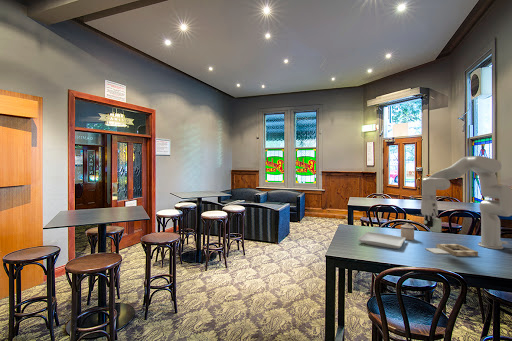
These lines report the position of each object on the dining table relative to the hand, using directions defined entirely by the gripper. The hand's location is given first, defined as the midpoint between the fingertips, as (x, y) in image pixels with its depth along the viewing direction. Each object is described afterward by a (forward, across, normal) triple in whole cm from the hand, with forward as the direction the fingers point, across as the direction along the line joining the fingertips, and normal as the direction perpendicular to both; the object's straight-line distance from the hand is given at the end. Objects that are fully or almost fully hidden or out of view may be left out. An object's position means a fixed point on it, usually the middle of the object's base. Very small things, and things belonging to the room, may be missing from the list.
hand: (428, 226), depth 162 cm
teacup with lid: (+17, +31, -3) cm, 35 cm away
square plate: (+17, +19, +21) cm, 33 cm away
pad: (+16, 0, -5) cm, 17 cm away
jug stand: (+16, 0, -17) cm, 24 cm away
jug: (+3, 0, -2) cm, 4 cm away
